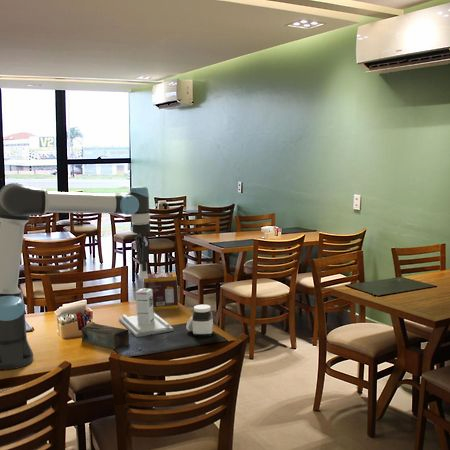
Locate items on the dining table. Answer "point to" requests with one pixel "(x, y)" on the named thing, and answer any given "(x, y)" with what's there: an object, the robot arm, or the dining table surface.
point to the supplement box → (163, 290)
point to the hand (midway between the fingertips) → (144, 278)
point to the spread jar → (201, 321)
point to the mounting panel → (145, 326)
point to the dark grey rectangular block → (105, 336)
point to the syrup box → (145, 306)
